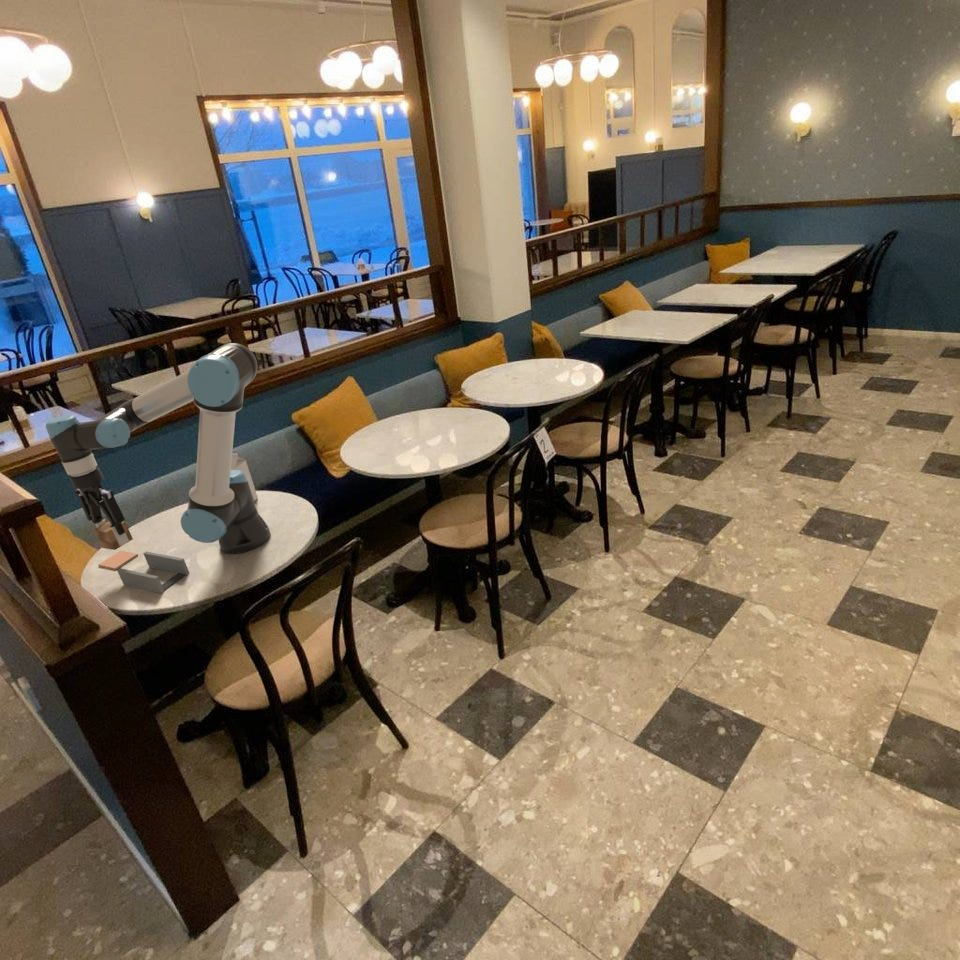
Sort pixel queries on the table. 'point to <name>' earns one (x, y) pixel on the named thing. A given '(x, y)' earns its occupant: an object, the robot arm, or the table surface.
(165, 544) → the table surface
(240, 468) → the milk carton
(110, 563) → the tile
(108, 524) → the block
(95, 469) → the robot arm
